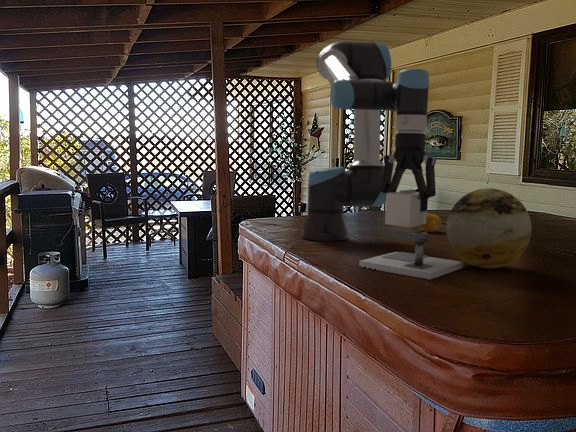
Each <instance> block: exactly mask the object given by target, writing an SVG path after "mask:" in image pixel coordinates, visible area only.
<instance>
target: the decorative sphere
mask: <svg viewBox="0 0 576 432" xmlns="http://www.w3.org/2000/svg"><path fill="white" fill-rule="evenodd" d="M446 235H447V240H448V243H449V245H450V247H451V249H452V250H453V252H454V253H455V254H456V255H457V257H459V258H460V259H461V260H462V261H463V262H466V263H467V264H469V265H471V266H473V267H475V268H480V269H487V270H488V269H489V270H490V269H499V268H502V267H506V266H508V265H510V264H512V263H513V262H515V261H516V260H517V259H519V258H520V257H521V256H522V255H523V254H524V253H525V251H526V249H527V247H528V245H529V243H530V241H531V237H532V221H531V216H530V214H529V211H528V210H527V209H526V207H525V205H524V204H523V202H522V201H520V200H519V199H518V198H517V197H516V196H514V195H513V194H511V193H510V192H507V191H505V190H502V189H500V188H498V189H497V188H487V187H486V188H481V189H480V188H479V189H476V190H473V191H471V192H469V193H467V194H465V195H463V196H461V198H459V200H458V201H456V202H455V204H454V205H453V207H452V208H451V210H450V212H449V214H448V216H447V221H446Z"/></svg>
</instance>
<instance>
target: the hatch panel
mask: <svg viewBox="0 0 576 432" xmlns="http://www.w3.org/2000/svg"><path fill="white" fill-rule="evenodd" d="M414 262H415V253H412V252H405V251H394V252H389V253H385V254H382V255H377V256H374V257H370V258H366V259H362V260H359V262H358V267H359V266H361V267H360V268H363V267H366V268H365V269H369V268H371V269H370V270H374V269H376V271H380V272H386V273H390V274H391V273H392V274H398V275H402V276H409V277H413V278H419V279H426V280H433V279H435V278H436V279H437V277H441V276H444V275H446V274H450V273H453V272H455V271H458V270H461V269H463V268H464V261H459V260H454V259H453V260H452V259H448V258H447V259H446V258H440V257H433V256H429V255H425V254H424V255H423V265H415V264H414Z"/></svg>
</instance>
